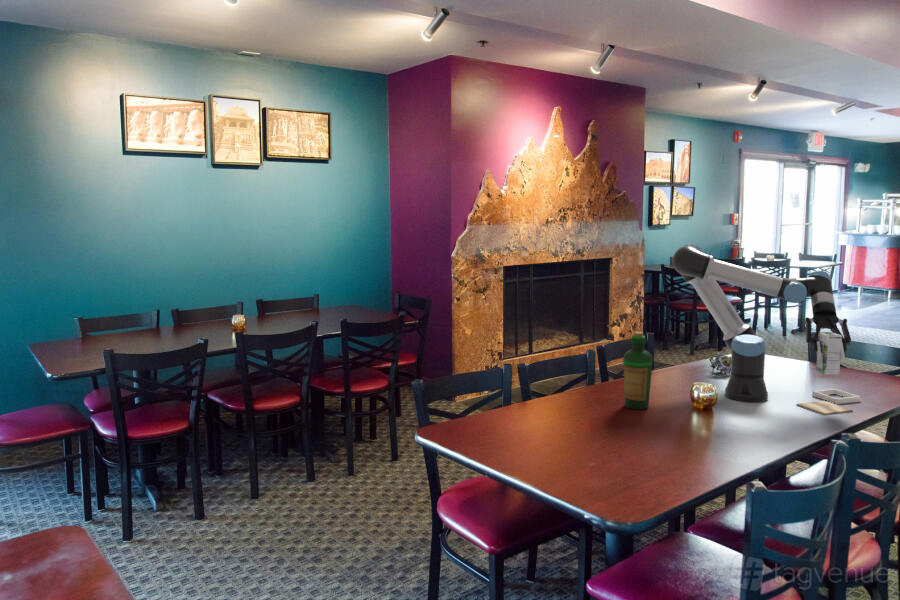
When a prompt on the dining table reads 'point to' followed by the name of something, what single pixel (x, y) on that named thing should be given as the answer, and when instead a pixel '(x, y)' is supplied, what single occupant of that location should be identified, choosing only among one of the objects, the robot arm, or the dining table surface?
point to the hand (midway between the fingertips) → (831, 358)
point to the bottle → (637, 374)
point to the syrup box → (829, 353)
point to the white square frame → (847, 398)
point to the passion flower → (721, 363)
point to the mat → (825, 407)
